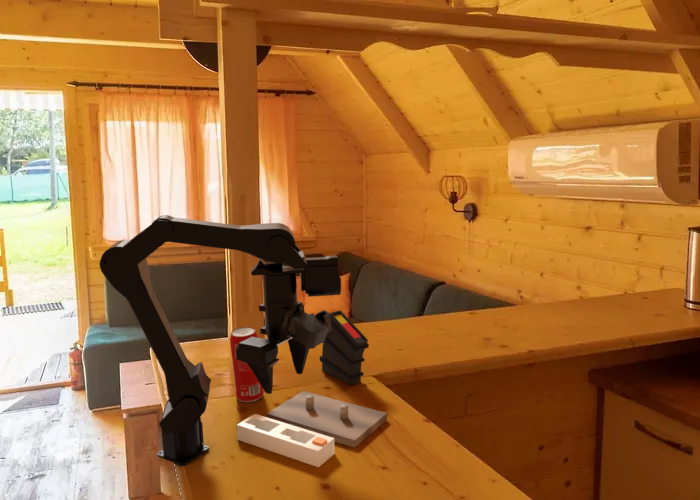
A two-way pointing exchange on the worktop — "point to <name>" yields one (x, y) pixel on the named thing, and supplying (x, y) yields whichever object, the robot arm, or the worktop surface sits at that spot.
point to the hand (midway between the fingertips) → (284, 383)
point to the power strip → (286, 439)
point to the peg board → (329, 417)
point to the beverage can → (244, 369)
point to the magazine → (343, 349)
